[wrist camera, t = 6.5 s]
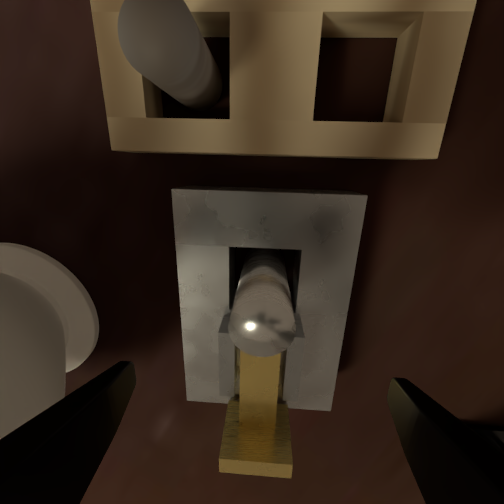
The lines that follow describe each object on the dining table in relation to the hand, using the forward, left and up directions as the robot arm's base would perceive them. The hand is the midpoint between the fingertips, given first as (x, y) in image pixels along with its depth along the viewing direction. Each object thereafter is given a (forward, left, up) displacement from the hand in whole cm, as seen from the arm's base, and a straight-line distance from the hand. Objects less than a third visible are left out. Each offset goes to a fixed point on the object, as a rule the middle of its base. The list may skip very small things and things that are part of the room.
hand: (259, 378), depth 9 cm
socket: (0, +3, -11) cm, 11 cm away
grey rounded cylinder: (0, 0, -11) cm, 11 cm away
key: (0, +7, -7) cm, 10 cm away
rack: (0, -12, -11) cm, 16 cm away
